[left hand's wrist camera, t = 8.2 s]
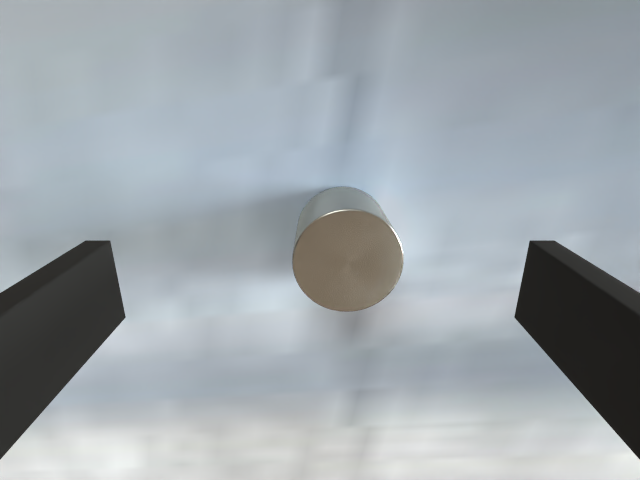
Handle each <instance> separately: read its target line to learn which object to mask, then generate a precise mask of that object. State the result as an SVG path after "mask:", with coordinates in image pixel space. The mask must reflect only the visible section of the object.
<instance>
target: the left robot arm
mask: <svg viewBox="0 0 640 480" xmlns="http://www.w3.org/2000/svg"><path fill="white" fill-rule="evenodd" d="M124 318H125V312H124V307H123V302H122V297H121V292H120V287H119V283H118V278H117V273H116V268H115V263H114V258H113V253H112V248H111V243H110V241H84V242H83V243H81V244H79V245H78V246H76V247H75V248H73V249H71V250H70V251H68V252H66V253H65V254H63V255H62V256H60V257H58V258H57V259H55V260H53V261H52V262H50V263H49V264H47V265H45V266H44V267H42V268H40V269H39V270H37V271H36V272H34V273H32V274H31V275H29V276H27V277H26V278H24V279H23V280H21V281H19V282H18V283H16V284H14V285H13V286H11V287H10V288H8V289H6V290H5V291H3V292H1V293H0V459H1V458H2V457H3V456H4V455H5V453H6V452H7V451H8V450H9V449H10V448H11V447H12V445H13V444H14V443H15V442H16V441H17V440H18V439H19V438H20V436H21V435H22V434H23V433H24V432H25V431H26V430H27V428H28V427H29V426H30V425H31V424H32V423H33V422H34V421H35V419H36V418H37V417H38V416H39V415H40V414H41V413H42V411H43V410H44V409H45V408H46V407H47V406H48V405H49V404H50V402H51V401H52V400H53V399H54V398H55V397H56V396H57V394H58V393H59V392H60V391H61V390H62V389H63V388H64V386H65V385H66V384H67V383H68V382H69V381H70V380H71V379H72V377H73V376H74V375H75V374H76V373H77V372H78V371H79V369H80V368H81V367H82V366H83V365H84V364H85V363H86V362H87V360H88V359H89V358H90V357H91V356H92V355H93V354H94V352H95V351H96V350H97V349H98V348H99V347H100V346H101V345H102V343H103V342H104V341H105V340H106V339H107V338H108V337H109V335H110V334H111V333H112V332H113V331H114V330H115V329H116V327H117V326H118V325H119V324H120V323H121V322H122V321H123V320H124ZM515 318H516V320H517V321H518V322H519V323H520V324H521V325H522V326H523V327H524V329H525V330H526V331H527V332H528V333H529V334H530V335H531V337H532V338H533V339H534V340H535V341H536V342H537V343H538V345H539V346H540V347H541V348H542V349H543V350H544V351H545V352H546V354H547V355H548V356H549V357H550V358H551V359H552V360H553V362H554V363H555V364H556V365H557V366H558V367H559V368H560V369H561V371H562V372H563V373H564V374H565V375H566V376H567V377H568V379H569V380H570V381H571V382H572V383H573V384H574V385H575V386H576V388H577V389H578V390H579V391H580V392H581V393H582V394H583V396H584V397H585V398H586V399H587V400H588V401H589V402H590V404H591V405H592V406H593V407H594V408H595V409H596V410H597V411H598V413H599V414H600V415H601V416H602V417H603V418H604V419H605V421H606V422H607V423H608V424H609V425H610V426H611V427H612V428H613V430H614V431H615V432H616V433H617V434H618V435H619V436H620V438H621V439H622V440H623V441H624V442H625V443H626V444H627V445H628V447H629V448H630V449H631V450H632V451H633V452H634V453H635V455H636V456H637V457H638V458H639V459H640V293H639V292H637V291H635V290H634V289H632V288H630V287H629V286H627V285H626V284H624V283H622V282H621V281H619V280H617V279H616V278H614V277H613V276H611V275H609V274H608V273H606V272H604V271H603V270H601V269H600V268H598V267H596V266H595V265H593V264H591V263H590V262H588V261H587V260H585V259H583V258H582V257H580V256H578V255H577V254H575V253H574V252H572V251H570V250H569V249H567V248H565V247H564V246H562V245H561V244H559V243H557V242H556V241H530V243H529V248H528V253H527V258H526V263H525V268H524V273H523V277H522V282H521V287H520V292H519V297H518V302H517V307H516V312H515Z"/></svg>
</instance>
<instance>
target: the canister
mask: <svg viewBox="0 0 640 480" xmlns="http://www.w3.org/2000/svg"><path fill="white" fill-rule="evenodd" d="M403 257H404V256H403V249H402V245H401V242H400V240H399V237H398V236H397V234H396V232H395V231H394V229H393V227H392V225H391V224H390V222H389V220H388V219H387V217H386V215H385V214H384V212H383V210H382V209H381V207H380V205H379V204H378V203H377V202H376V200H375V199H373V198H372V197H371V196H370V195H368V194H367V193H365V192H363V191H361V190H359V189H356V188H351V187H334V188H330V189H327V190H324V191H322V192H320V193H319V194H317V195H315V196H314V197H313V198H312V199H311V200H310V201H309V202H308V203H307V204H306V205H305V207H304V208H303V210H302V212H301V214H300V217H299V220H298V225H297V231H296V238H295V244H294V250H293V257H292V265H293V272H294V276H295V278H296V281H297V283H298V285H299V287H300V288H301V289H302V291H303V292H304V293H305V294H306V295H307V296H308V297H309V298H310V299H311V300H313V301H314V302H316V303H317V304H319V305H321V306H323V307H325V308H328V309H331V310H336V311H345V312H347V311H357V310H362V309H365V308H368V307H370V306H373V305H375V304H376V303H378V302H380V301H381V300H382V299H384V298H385V297H386V296H387V295H388V294H389V293H390V292H391V291H392V290H393V288H394V287H395V285H396V284H397V282H398V280H399V278H400V275H401V272H402V268H403Z"/></svg>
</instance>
